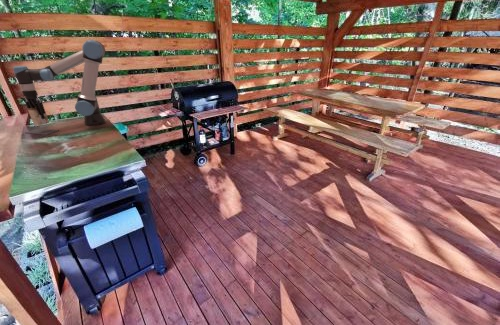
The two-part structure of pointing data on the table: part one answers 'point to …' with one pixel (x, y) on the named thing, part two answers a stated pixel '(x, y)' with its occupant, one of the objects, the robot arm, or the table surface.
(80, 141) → the table surface
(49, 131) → the mat
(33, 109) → the slab
